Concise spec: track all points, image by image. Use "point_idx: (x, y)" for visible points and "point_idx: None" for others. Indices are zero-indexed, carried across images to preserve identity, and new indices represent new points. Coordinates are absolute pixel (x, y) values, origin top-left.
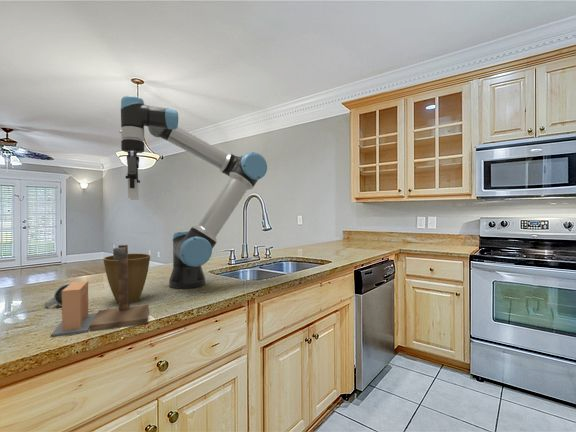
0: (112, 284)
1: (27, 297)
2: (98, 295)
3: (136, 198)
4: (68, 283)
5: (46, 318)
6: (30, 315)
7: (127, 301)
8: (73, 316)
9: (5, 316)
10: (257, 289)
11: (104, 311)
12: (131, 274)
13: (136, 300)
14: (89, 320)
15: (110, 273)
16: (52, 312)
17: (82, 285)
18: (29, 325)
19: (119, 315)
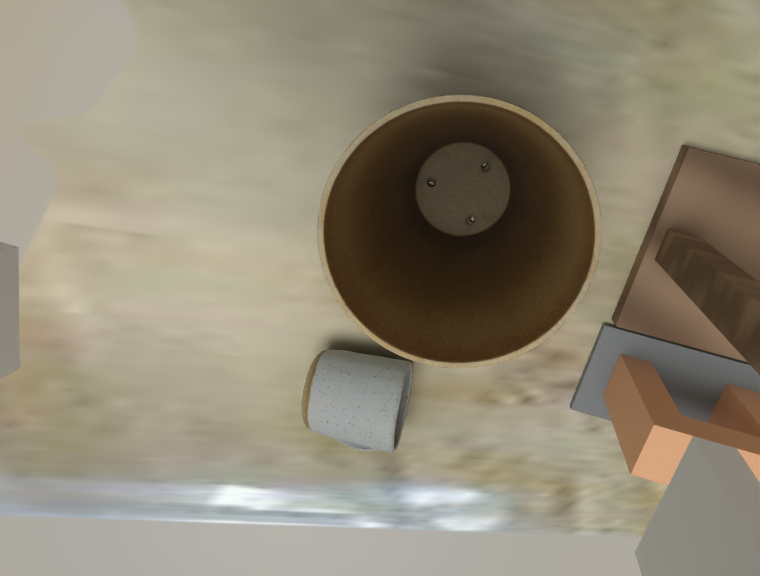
0: (498, 283)
1: (182, 471)
2: (290, 276)
3: (1, 286)
4: (375, 427)
5: (521, 448)
6: (447, 479)
7: (713, 248)
8: None
9: (410, 527)
10: None
11: (650, 312)
12: (569, 221)
13: (503, 161)
14: (686, 358)
15: (509, 314)
16: (455, 429)
17: (746, 456)
18: (568, 487)
19: (757, 278)
